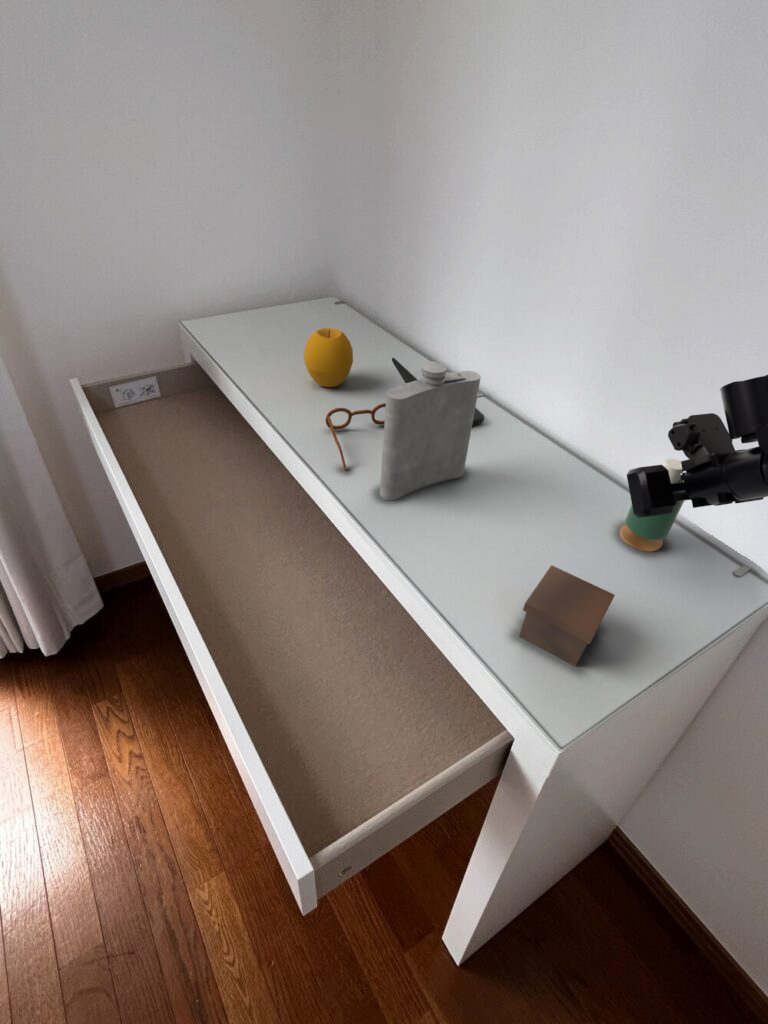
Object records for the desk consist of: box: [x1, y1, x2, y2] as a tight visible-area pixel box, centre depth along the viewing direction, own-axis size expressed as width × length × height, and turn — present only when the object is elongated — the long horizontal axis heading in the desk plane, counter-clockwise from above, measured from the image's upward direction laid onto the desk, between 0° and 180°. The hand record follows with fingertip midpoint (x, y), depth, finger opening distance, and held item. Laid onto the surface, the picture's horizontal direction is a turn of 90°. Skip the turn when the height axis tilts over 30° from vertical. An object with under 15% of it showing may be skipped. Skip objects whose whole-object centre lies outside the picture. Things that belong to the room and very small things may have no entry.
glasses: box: [325, 402, 386, 471], centre depth 98 cm, size 13×13×5 cm
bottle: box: [625, 458, 685, 540], centre depth 80 cm, size 6×6×11 cm
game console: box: [391, 357, 485, 426], centre depth 108 cm, size 16×14×9 cm
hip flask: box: [379, 361, 482, 501], centre depth 86 cm, size 16×4×20 cm, turn 122°
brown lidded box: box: [518, 565, 616, 667], centre depth 68 cm, size 8×8×6 cm
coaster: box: [619, 524, 664, 553], centre depth 85 cm, size 6×6×1 cm
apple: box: [303, 327, 354, 388], centre depth 113 cm, size 10×10×12 cm
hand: (652, 494), depth 81 cm, fingers closed on bottle, 6 cm apart
